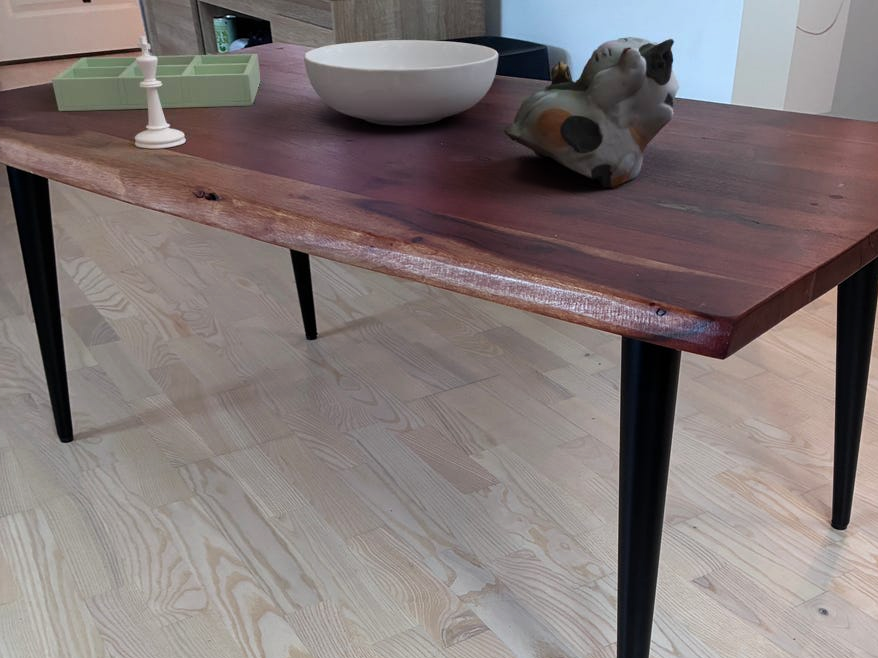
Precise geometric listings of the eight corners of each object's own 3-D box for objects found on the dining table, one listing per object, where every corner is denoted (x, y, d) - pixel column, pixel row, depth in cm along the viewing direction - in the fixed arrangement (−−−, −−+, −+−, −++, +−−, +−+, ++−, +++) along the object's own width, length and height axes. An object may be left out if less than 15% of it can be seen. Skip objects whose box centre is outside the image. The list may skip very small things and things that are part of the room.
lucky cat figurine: (526, 146, 91) (598, 10, 87) (630, 208, 89) (710, 72, 85) (481, 135, 77) (564, -28, 73) (604, 208, 75) (697, 45, 71)
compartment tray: (58, 111, 106) (51, 79, 104) (87, 86, 118) (81, 57, 117) (252, 105, 108) (248, 74, 107) (260, 82, 121) (257, 53, 119)
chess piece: (171, 134, 96) (154, 31, 91) (195, 142, 93) (179, 36, 88) (126, 142, 93) (106, 36, 88) (149, 151, 90) (130, 41, 85)
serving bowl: (534, 112, 105) (535, 48, 101) (416, 150, 90) (413, 76, 87) (394, 91, 116) (391, 32, 112) (268, 122, 101) (261, 55, 97)
